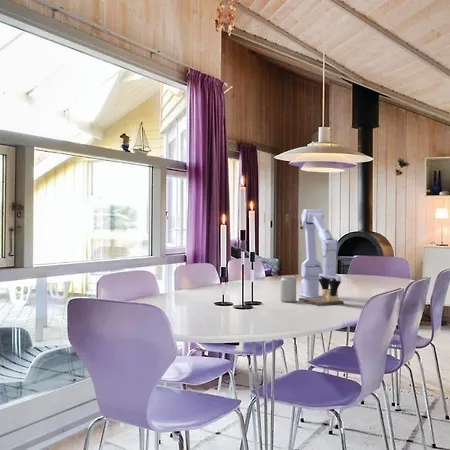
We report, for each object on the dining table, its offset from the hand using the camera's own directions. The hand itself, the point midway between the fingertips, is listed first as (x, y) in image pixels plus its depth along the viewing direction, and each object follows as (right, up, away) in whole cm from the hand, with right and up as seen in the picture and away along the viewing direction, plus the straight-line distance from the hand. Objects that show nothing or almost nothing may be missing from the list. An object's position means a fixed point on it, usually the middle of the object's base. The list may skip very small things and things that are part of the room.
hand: (329, 294), depth 231 cm
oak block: (0, -3, 0) cm, 3 cm away
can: (-19, -4, +5) cm, 20 cm away
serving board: (-3, -4, +3) cm, 6 cm away
